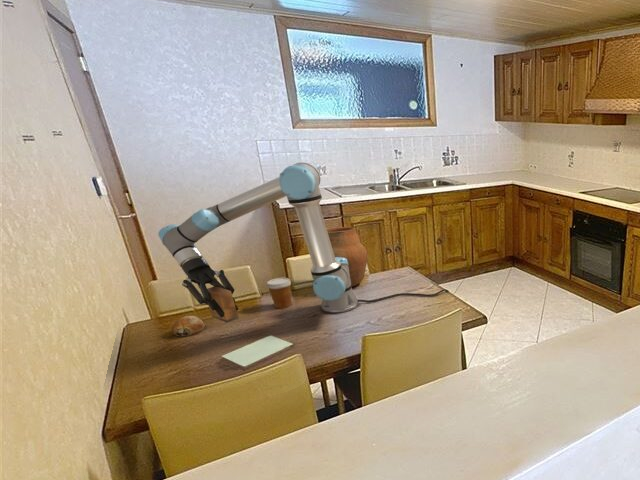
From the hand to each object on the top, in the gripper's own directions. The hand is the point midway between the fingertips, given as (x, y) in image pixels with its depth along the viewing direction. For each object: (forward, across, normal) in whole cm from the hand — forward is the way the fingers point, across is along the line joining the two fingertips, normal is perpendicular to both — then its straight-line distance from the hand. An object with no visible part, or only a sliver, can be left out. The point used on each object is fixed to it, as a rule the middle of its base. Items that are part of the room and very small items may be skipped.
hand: (229, 312), depth 155 cm
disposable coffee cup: (-5, -32, -25) cm, 41 cm away
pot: (-2, -64, -22) cm, 67 cm away
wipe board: (+17, -1, -3) cm, 18 cm away
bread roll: (-11, +2, -31) cm, 33 cm away
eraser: (-1, 0, -5) cm, 5 cm away
